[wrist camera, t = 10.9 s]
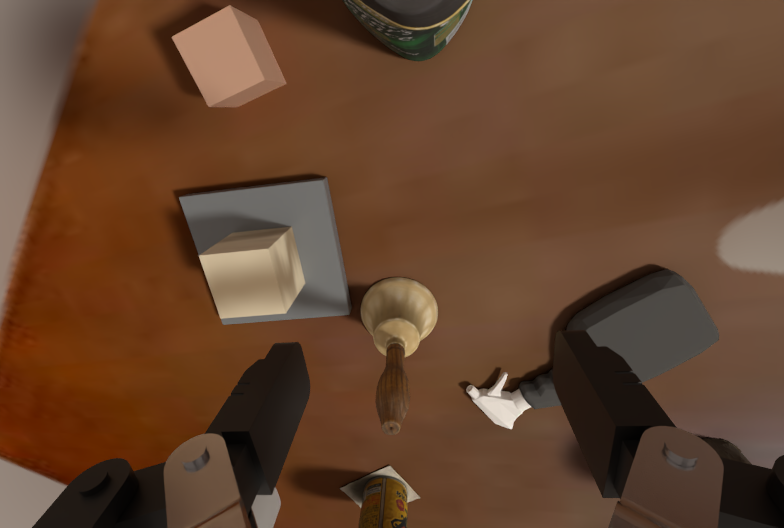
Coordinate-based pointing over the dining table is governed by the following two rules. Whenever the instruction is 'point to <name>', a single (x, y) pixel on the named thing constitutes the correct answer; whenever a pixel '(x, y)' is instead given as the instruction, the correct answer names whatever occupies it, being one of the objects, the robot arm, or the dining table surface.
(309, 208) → the slate tile
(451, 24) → the coffee jar
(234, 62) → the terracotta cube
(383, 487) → the condiment
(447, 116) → the dining table surface
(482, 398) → the spray bottle
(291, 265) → the birch cube
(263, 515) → the lumpy-topped squat cylinder
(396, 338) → the hand bell
